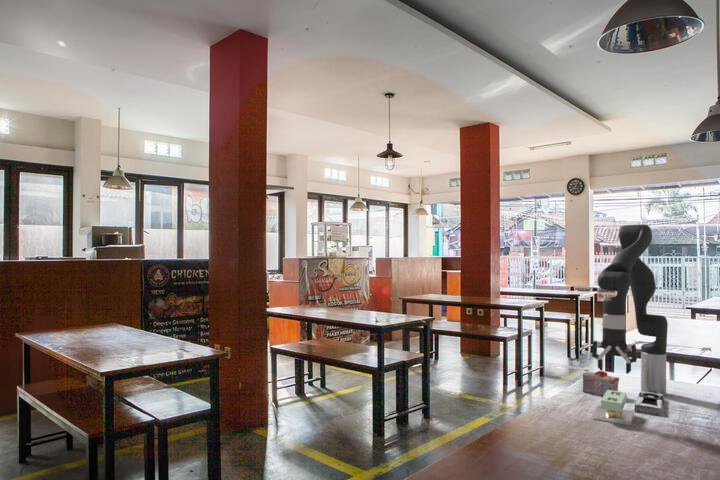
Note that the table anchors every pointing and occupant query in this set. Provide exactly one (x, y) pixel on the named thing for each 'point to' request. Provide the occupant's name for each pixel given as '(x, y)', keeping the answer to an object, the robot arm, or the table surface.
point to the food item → (599, 383)
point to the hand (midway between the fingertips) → (614, 371)
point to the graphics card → (650, 403)
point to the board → (613, 405)
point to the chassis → (614, 415)
